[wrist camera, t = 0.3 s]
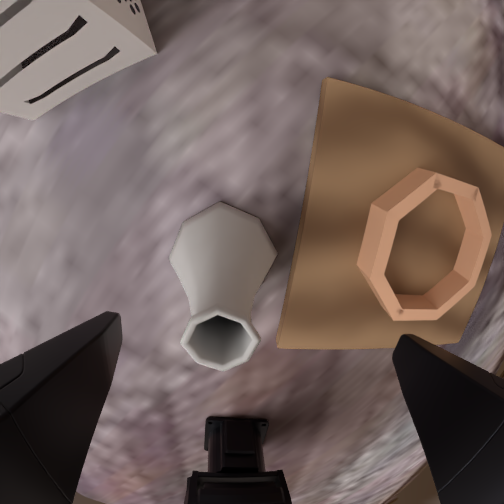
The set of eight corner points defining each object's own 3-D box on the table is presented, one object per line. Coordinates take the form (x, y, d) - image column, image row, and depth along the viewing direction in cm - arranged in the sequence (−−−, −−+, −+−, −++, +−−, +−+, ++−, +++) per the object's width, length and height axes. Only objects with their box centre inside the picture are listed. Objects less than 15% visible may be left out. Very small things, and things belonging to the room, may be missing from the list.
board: (452, 336, 27) (458, 342, 26) (275, 339, 25) (277, 348, 24) (508, 153, 20) (516, 155, 19) (322, 80, 18) (327, 77, 16)
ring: (446, 306, 24) (461, 319, 22) (345, 303, 22) (356, 320, 20) (482, 189, 20) (501, 196, 18) (380, 157, 19) (397, 160, 16)
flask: (219, 181, 20) (210, 223, 10) (294, 250, 22) (339, 333, 13) (152, 257, 21) (106, 343, 12) (226, 315, 24) (228, 417, 14)
